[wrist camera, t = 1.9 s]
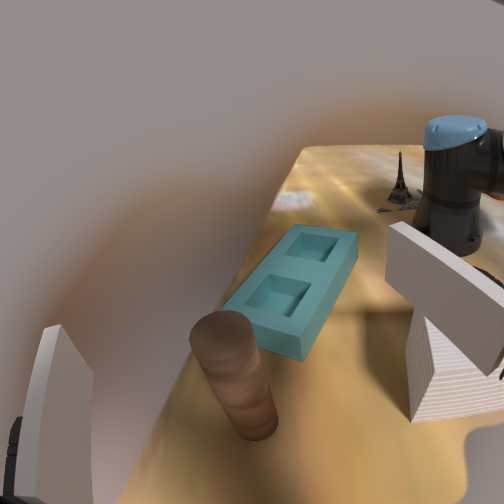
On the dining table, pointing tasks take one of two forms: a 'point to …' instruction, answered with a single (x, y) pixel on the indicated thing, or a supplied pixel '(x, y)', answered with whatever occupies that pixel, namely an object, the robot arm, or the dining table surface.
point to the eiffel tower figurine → (402, 193)
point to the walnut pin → (235, 372)
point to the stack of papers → (446, 377)
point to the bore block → (296, 288)
